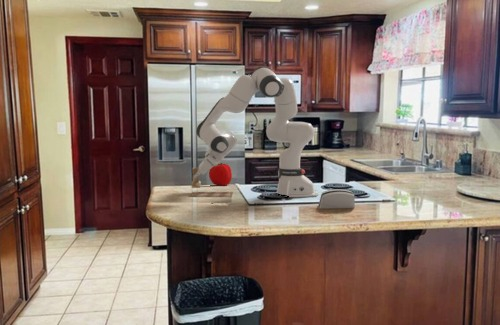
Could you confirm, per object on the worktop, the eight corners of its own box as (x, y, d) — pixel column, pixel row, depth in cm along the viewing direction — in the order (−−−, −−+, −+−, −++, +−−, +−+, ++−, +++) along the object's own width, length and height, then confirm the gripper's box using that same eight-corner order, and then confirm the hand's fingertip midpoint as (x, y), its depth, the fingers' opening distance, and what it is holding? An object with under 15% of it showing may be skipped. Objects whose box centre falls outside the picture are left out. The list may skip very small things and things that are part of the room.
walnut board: (233, 194, 230) (233, 191, 230) (231, 199, 217) (231, 196, 217) (192, 194, 231) (192, 191, 230) (188, 199, 218) (188, 196, 217)
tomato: (231, 187, 249) (231, 164, 247) (207, 187, 249) (207, 164, 247) (232, 182, 264) (232, 160, 263) (210, 182, 265) (210, 160, 263)
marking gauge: (200, 185, 229) (200, 167, 228) (200, 187, 224) (199, 168, 222) (192, 185, 229) (191, 167, 228) (191, 187, 223) (191, 169, 222)
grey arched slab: (352, 205, 204) (354, 187, 199) (354, 210, 200) (357, 192, 195) (317, 205, 203) (319, 188, 199) (319, 211, 199) (321, 193, 194)
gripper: (208, 151, 235) (191, 169, 235) (208, 156, 214) (189, 175, 215) (216, 159, 236) (199, 176, 236) (217, 164, 215) (198, 184, 216)
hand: (194, 176), depth 225 cm, fingers closed on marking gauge, 3 cm apart
